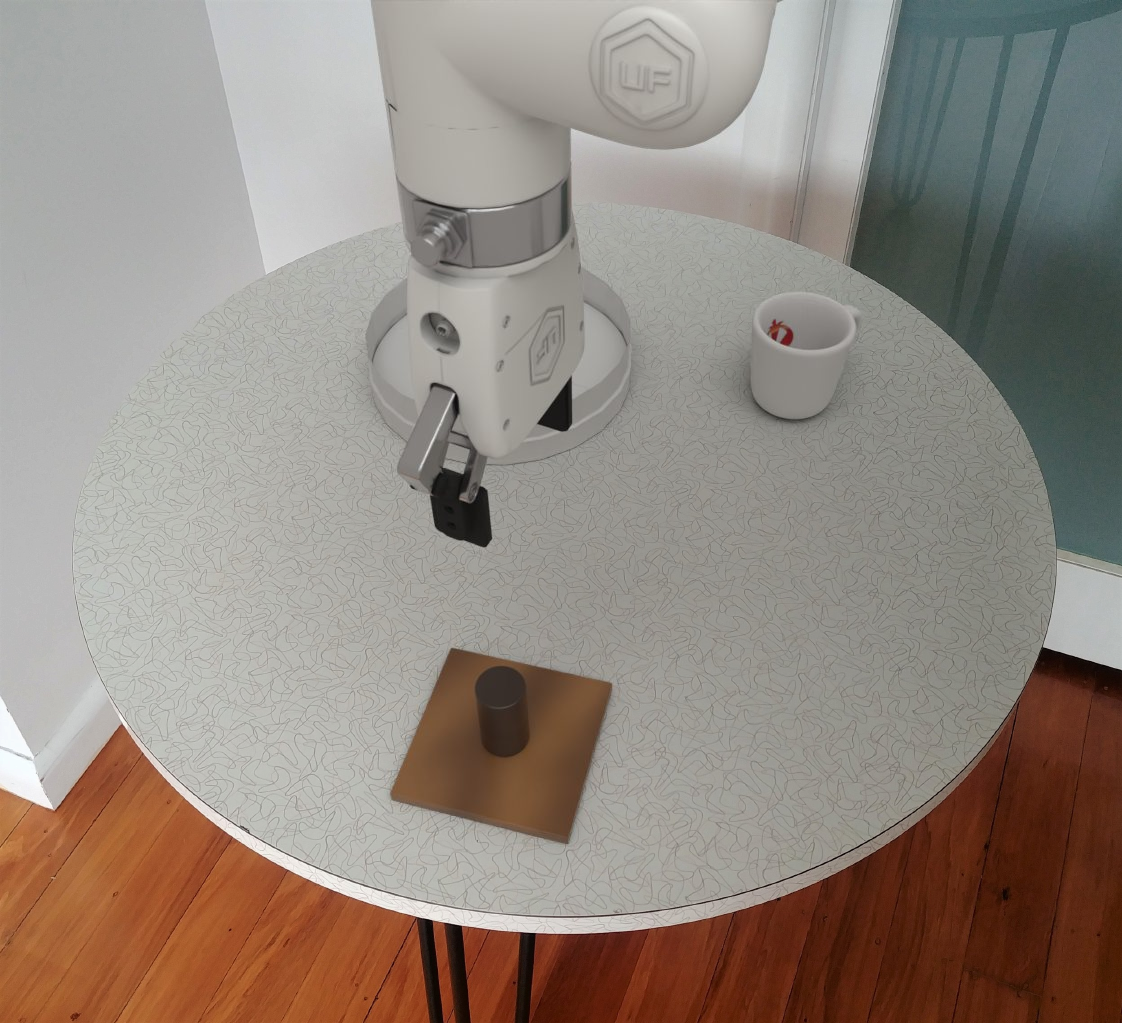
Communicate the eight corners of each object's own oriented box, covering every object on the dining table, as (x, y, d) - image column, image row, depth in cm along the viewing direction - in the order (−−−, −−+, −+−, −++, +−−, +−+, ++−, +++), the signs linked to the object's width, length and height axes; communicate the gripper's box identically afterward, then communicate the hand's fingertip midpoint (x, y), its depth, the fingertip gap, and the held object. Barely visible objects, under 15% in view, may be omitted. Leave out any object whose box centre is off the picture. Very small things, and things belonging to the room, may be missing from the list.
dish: (319, 415, 87) (308, 368, 84) (453, 274, 101) (449, 228, 97) (561, 499, 80) (560, 451, 77) (671, 335, 94) (674, 288, 90)
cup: (813, 343, 93) (828, 266, 87) (882, 391, 88) (903, 312, 82) (721, 392, 88) (731, 314, 83) (789, 445, 84) (804, 366, 78)
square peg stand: (612, 689, 69) (614, 631, 64) (568, 844, 62) (566, 792, 57) (452, 654, 71) (442, 595, 66) (391, 800, 64) (376, 746, 59)
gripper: (464, 335, 40) (492, 611, 53) (641, 130, 51) (630, 401, 63) (300, 286, 42) (364, 562, 55) (502, 100, 53) (518, 368, 65)
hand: (506, 476), depth 59 cm, fingers open, 9 cm apart
